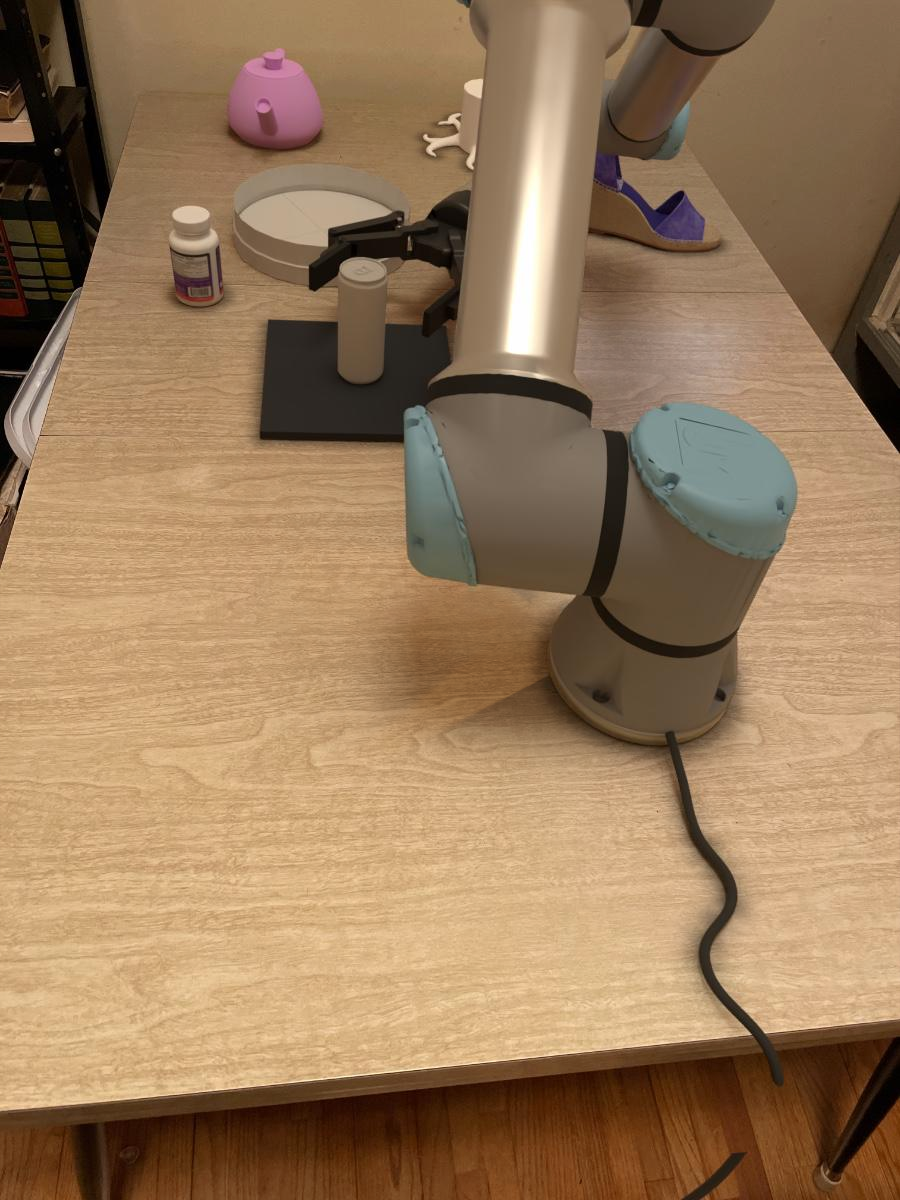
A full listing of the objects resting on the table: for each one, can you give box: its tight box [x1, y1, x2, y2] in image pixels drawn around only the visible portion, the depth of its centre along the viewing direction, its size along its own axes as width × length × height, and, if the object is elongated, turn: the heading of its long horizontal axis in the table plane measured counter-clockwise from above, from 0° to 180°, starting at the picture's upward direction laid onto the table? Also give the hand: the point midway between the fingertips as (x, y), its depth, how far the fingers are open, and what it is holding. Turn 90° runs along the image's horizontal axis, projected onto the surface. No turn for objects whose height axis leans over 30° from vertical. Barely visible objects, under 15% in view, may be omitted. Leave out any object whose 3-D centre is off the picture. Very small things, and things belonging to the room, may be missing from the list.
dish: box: [232, 163, 411, 288], centre depth 120 cm, size 22×22×5 cm
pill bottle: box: [168, 205, 224, 308], centre depth 107 cm, size 5×5×10 cm
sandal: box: [588, 153, 723, 253], centre depth 126 cm, size 8×20×15 cm, turn 78°
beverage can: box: [337, 257, 389, 384], centre depth 97 cm, size 5×5×12 cm
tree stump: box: [422, 78, 483, 171], centre depth 143 cm, size 20×19×8 cm
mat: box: [259, 318, 452, 443], centre depth 102 cm, size 20×20×1 cm
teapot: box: [226, 47, 324, 150], centre depth 138 cm, size 14×20×11 cm
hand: (367, 301), depth 96 cm, fingers open, 13 cm apart
